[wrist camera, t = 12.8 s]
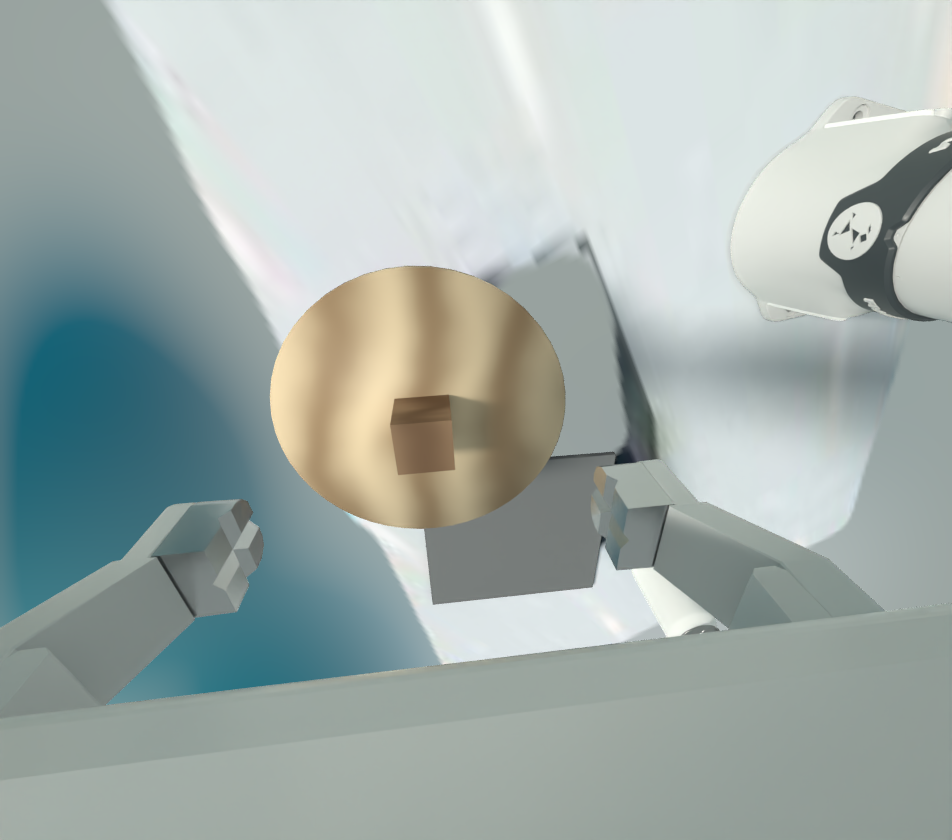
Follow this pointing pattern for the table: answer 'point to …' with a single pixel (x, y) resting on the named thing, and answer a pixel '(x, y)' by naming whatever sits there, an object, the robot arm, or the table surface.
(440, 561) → the rubber mat
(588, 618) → the table surface
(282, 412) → the oak bowl cover
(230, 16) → the table surface
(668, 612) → the can
